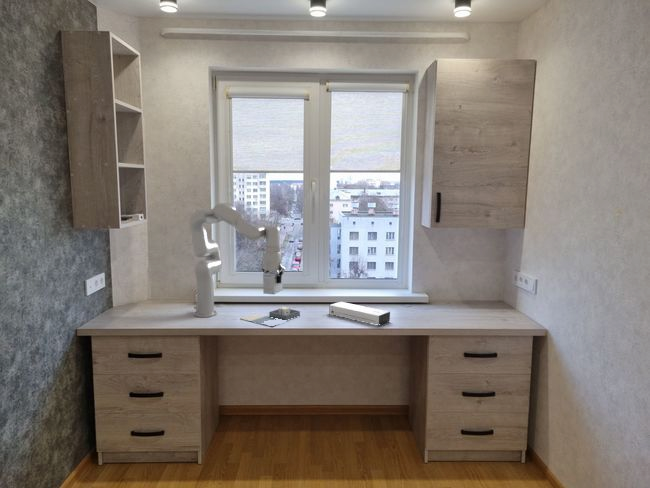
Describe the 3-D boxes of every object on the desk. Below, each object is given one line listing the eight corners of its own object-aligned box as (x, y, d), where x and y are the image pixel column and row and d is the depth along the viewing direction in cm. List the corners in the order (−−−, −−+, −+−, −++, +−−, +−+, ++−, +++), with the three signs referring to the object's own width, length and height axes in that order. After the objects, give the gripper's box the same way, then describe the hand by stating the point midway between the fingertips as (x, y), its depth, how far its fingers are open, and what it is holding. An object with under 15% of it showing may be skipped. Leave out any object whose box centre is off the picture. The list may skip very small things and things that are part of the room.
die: (278, 315, 249) (278, 307, 249) (284, 314, 253) (284, 306, 252) (284, 317, 246) (284, 309, 246) (290, 315, 250) (290, 307, 249)
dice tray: (269, 317, 248) (269, 311, 248) (283, 312, 258) (283, 307, 258) (285, 321, 241) (285, 315, 241) (299, 316, 251) (299, 311, 251)
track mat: (240, 319, 243) (240, 318, 243) (255, 314, 253) (255, 313, 253) (272, 327, 230) (272, 326, 229) (287, 322, 239) (287, 321, 239)
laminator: (389, 322, 243) (390, 311, 243) (377, 327, 234) (378, 316, 233) (340, 311, 264) (340, 301, 264) (327, 315, 255) (328, 305, 254)
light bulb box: (271, 289, 242) (271, 270, 240) (282, 290, 239) (282, 271, 238) (262, 293, 232) (262, 273, 230) (274, 294, 229) (274, 274, 228)
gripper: (255, 249, 235) (256, 281, 237) (280, 251, 225) (280, 285, 227) (265, 247, 241) (265, 279, 243) (289, 250, 231) (290, 282, 233)
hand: (272, 281), depth 235 cm, fingers closed on light bulb box, 8 cm apart
